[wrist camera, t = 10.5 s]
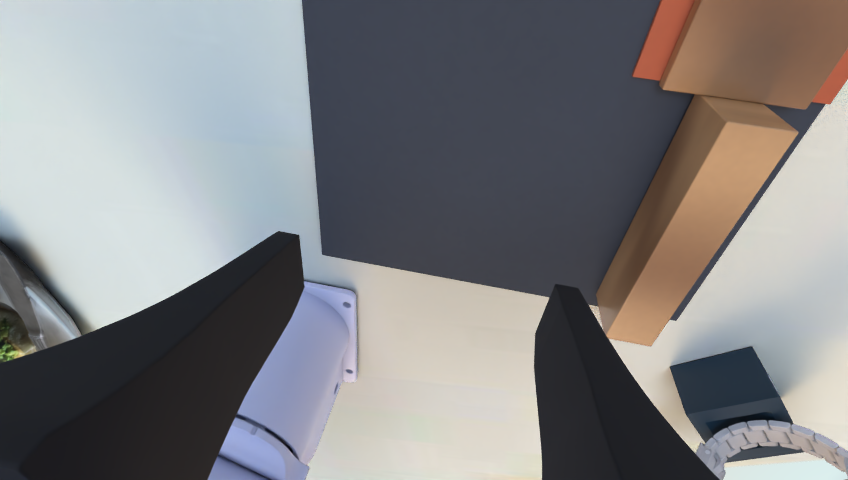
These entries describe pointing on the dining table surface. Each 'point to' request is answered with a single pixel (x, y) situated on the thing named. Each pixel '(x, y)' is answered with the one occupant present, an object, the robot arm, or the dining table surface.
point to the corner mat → (498, 133)
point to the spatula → (717, 145)
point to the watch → (743, 413)
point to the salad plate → (28, 311)
